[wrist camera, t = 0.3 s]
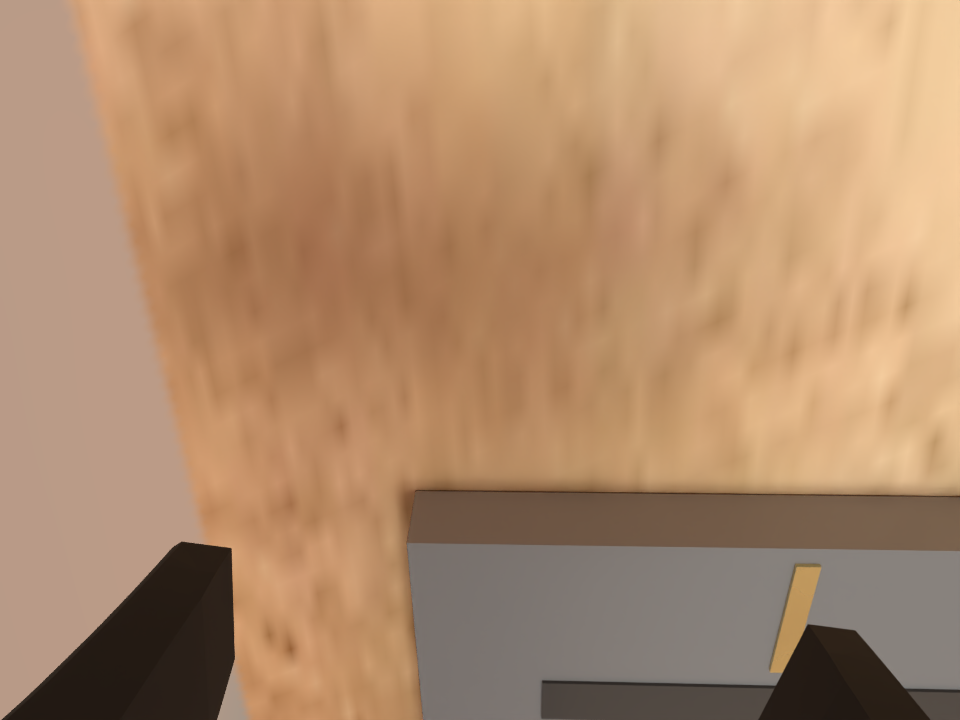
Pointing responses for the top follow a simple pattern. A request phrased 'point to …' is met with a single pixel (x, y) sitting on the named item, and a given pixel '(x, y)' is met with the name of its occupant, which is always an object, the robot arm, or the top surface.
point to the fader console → (671, 599)
